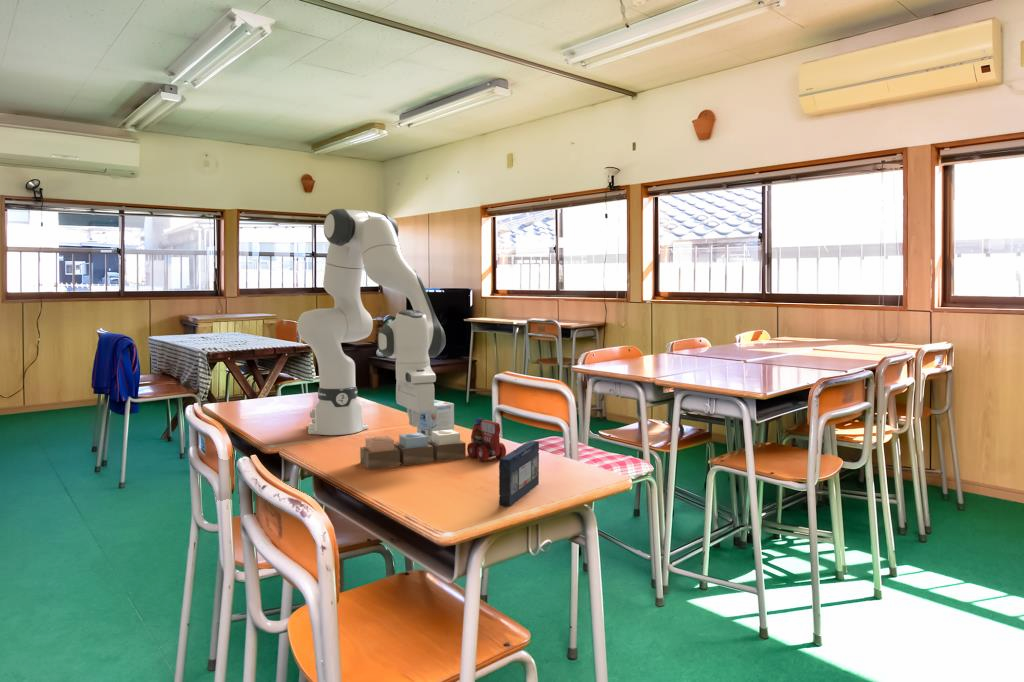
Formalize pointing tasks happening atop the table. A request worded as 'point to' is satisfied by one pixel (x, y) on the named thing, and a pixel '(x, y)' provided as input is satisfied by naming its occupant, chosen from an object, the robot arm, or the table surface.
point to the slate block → (413, 440)
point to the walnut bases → (412, 455)
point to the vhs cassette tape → (518, 473)
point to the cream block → (445, 437)
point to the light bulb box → (437, 419)
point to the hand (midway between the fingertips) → (414, 425)
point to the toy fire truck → (486, 441)
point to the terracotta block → (379, 444)
